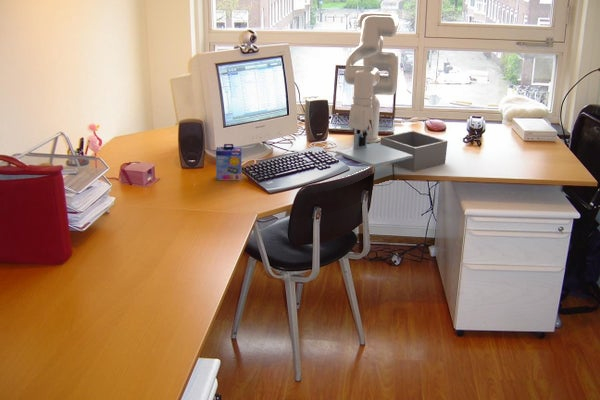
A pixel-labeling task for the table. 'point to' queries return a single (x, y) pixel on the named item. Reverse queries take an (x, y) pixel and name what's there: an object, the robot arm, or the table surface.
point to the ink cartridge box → (228, 163)
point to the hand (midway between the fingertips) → (360, 145)
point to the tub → (417, 149)
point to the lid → (373, 153)
